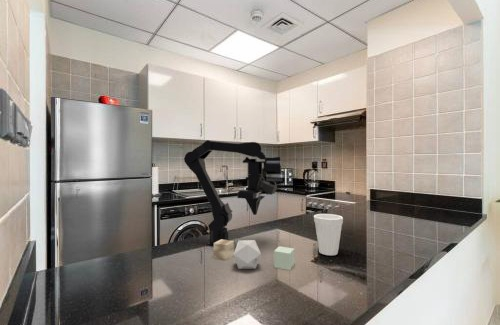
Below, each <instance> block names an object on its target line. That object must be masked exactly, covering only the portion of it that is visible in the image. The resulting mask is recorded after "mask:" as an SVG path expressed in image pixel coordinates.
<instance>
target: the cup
mask: <svg viewBox="0 0 500 325" xmlns="http://www.w3.org/2000/svg"><path fill="white" fill-rule="evenodd" d="M313 221H314V224H315V225H314V226H315V232H316V239H317V244H318V251H319V254H322V255H325V256H336V255H338V253H339V248H340V240H341V233H342V227H343V223H344V217H343V216H342V215H338V214H335V213H334V214H333V213H317V214H314V215H313Z"/></svg>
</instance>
